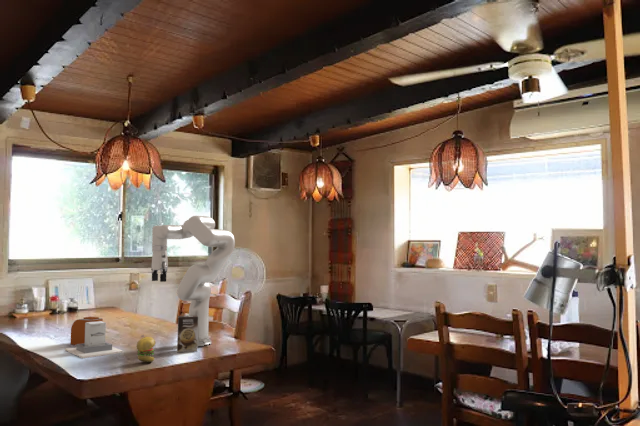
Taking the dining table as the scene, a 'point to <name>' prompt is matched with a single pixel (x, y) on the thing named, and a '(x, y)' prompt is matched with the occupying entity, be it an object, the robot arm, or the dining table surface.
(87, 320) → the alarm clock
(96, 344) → the supplement box
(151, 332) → the dining table surface
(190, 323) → the coffee box
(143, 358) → the hamburger
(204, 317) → the robot arm
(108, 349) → the dock board
